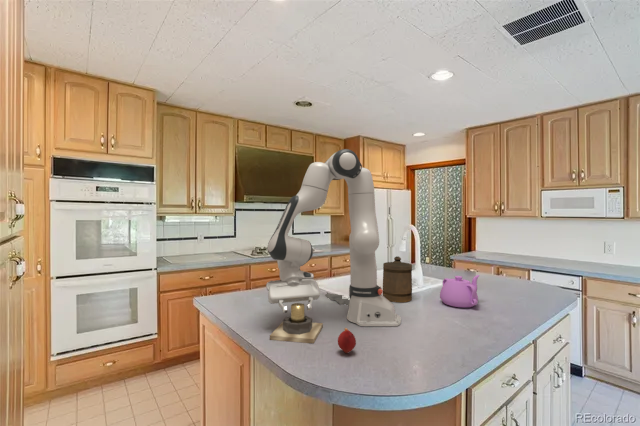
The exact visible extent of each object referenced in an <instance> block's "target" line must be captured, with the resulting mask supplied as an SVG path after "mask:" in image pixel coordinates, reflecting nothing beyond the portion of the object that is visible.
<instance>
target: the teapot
mask: <svg viewBox="0 0 640 426" xmlns="http://www.w3.org/2000/svg"><path fill="white" fill-rule="evenodd" d="M479 277H480V274H477V275H475V276H474V277H473V278H472V280H471V281H470V280H469V279H464V278H463V276H462V275H454V278H447V277H446V278H444V279H443V280H442V287H441V289H440V292H439V298H440V300H441V301H442V303H443V304H445V305H447V306H450V307H454V308H472V307H475V306H476V305H477V304H478V302H479V297H478V293H477V292H478V285H477V284H478V278H479Z"/></svg>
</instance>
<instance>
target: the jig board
mask: <svg viewBox="0 0 640 426" xmlns="http://www.w3.org/2000/svg"><path fill="white" fill-rule="evenodd" d="M323 328H324V322H313V319H312V318H311V317H309V316H307V315H305V322H302V323H291V315H290V316H286V317H285V318H284V319H283V320H282V322H281V323H280V324H279V325H278V326H277V327H276V328H275V329H274V330H273V332H271V333H270V335H269V341H270V340H271V341H280V342H282V341H283V342H291V343H292V342H294V343H303V344H315V342H316V340H317V339H318V337H319V335H320V334H321V332H322V329H323Z"/></svg>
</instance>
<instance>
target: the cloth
mask: <svg viewBox="0 0 640 426" xmlns="http://www.w3.org/2000/svg"><path fill="white" fill-rule="evenodd" d="M326 293H327V294H325V295H324V297H325V298H326V299H328V298H329V299H330V301H335V302H337V303H338V304H339V305H340V306H347V305H348V307H349V304H350V300H348V299H342V296H344V294H335V293H331V292H330V293H329V292H326ZM329 299H328V300H329ZM344 304H346V305H344Z"/></svg>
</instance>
